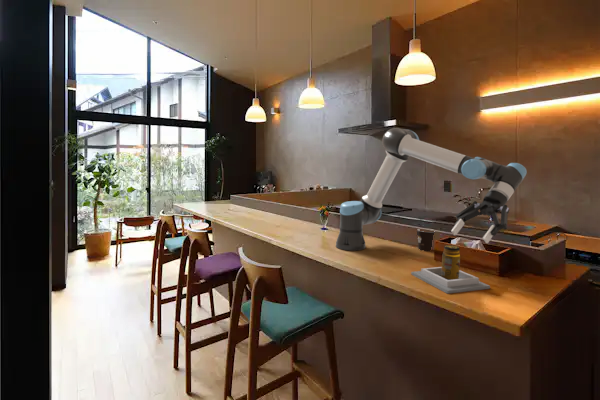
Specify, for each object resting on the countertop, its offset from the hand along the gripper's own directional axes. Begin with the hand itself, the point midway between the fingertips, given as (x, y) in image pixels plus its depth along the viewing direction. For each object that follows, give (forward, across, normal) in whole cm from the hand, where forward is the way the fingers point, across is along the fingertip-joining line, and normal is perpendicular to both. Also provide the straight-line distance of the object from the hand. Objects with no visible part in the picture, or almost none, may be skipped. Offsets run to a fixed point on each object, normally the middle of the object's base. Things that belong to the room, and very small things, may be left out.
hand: (468, 236), depth 125 cm
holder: (+18, 0, -5) cm, 18 cm away
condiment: (+17, +1, -5) cm, 18 cm away
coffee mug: (-2, +40, -25) cm, 47 cm away
